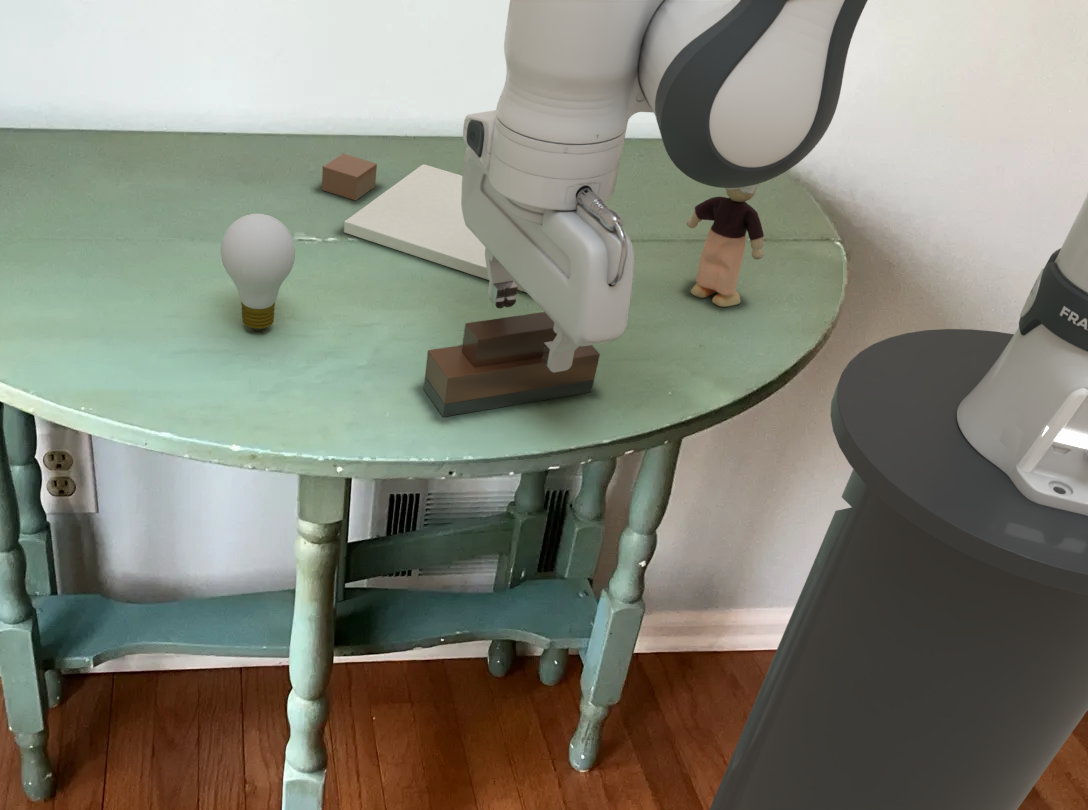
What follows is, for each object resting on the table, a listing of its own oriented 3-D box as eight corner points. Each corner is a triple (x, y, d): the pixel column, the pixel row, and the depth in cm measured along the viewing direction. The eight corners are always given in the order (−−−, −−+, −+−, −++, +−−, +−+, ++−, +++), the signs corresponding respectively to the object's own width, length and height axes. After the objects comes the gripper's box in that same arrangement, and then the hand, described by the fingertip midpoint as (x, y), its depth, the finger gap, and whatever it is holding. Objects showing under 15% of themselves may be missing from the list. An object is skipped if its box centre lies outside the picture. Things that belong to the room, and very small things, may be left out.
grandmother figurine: (756, 299, 108) (798, 166, 100) (742, 316, 106) (784, 181, 97) (678, 272, 111) (712, 140, 103) (662, 288, 109) (696, 154, 100)
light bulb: (304, 320, 101) (308, 210, 94) (274, 354, 96) (276, 242, 90) (242, 304, 102) (241, 194, 95) (209, 336, 98) (206, 224, 91)
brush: (568, 365, 98) (582, 300, 94) (591, 392, 95) (606, 326, 91) (423, 388, 94) (430, 321, 90) (442, 417, 91) (451, 349, 87)
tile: (600, 228, 117) (603, 217, 116) (535, 296, 106) (537, 284, 105) (421, 174, 124) (423, 163, 123) (343, 232, 113) (344, 221, 112)
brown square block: (375, 186, 121) (377, 163, 119) (355, 201, 118) (357, 177, 116) (341, 176, 122) (343, 153, 120) (321, 190, 119) (322, 166, 118)
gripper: (673, 221, 75) (631, 401, 85) (530, 101, 90) (507, 266, 99) (586, 233, 74) (552, 416, 83) (454, 108, 88) (438, 276, 97)
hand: (527, 333), depth 91 cm, fingers open, 8 cm apart
